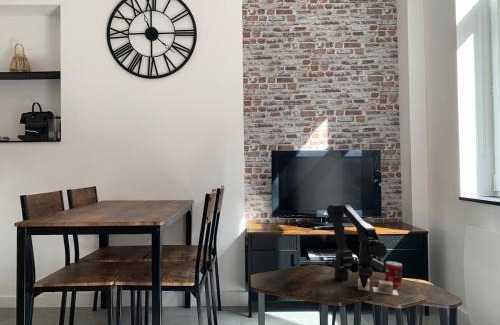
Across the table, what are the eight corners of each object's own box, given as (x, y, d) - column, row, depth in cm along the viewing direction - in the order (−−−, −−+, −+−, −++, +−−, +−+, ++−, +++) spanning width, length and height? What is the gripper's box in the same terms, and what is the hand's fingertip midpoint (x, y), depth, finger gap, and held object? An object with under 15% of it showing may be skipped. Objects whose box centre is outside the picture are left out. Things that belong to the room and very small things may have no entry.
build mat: (373, 292, 178) (373, 291, 178) (372, 288, 186) (372, 286, 186) (398, 296, 175) (398, 295, 175) (396, 291, 183) (396, 290, 183)
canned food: (386, 281, 200) (387, 260, 200) (402, 284, 196) (403, 263, 196) (382, 284, 193) (384, 263, 194) (399, 288, 189) (400, 266, 189)
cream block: (379, 291, 178) (379, 283, 178) (378, 288, 184) (378, 279, 184) (392, 293, 177) (393, 285, 177) (391, 290, 182) (391, 281, 183)
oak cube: (358, 290, 180) (358, 280, 180) (357, 287, 185) (358, 277, 185) (369, 292, 179) (369, 281, 179) (368, 289, 184) (369, 278, 184)
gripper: (385, 258, 171) (382, 293, 171) (381, 250, 189) (379, 282, 189) (359, 255, 174) (357, 289, 174) (358, 248, 192) (356, 279, 192)
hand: (363, 285), depth 182 cm, fingers open, 9 cm apart
